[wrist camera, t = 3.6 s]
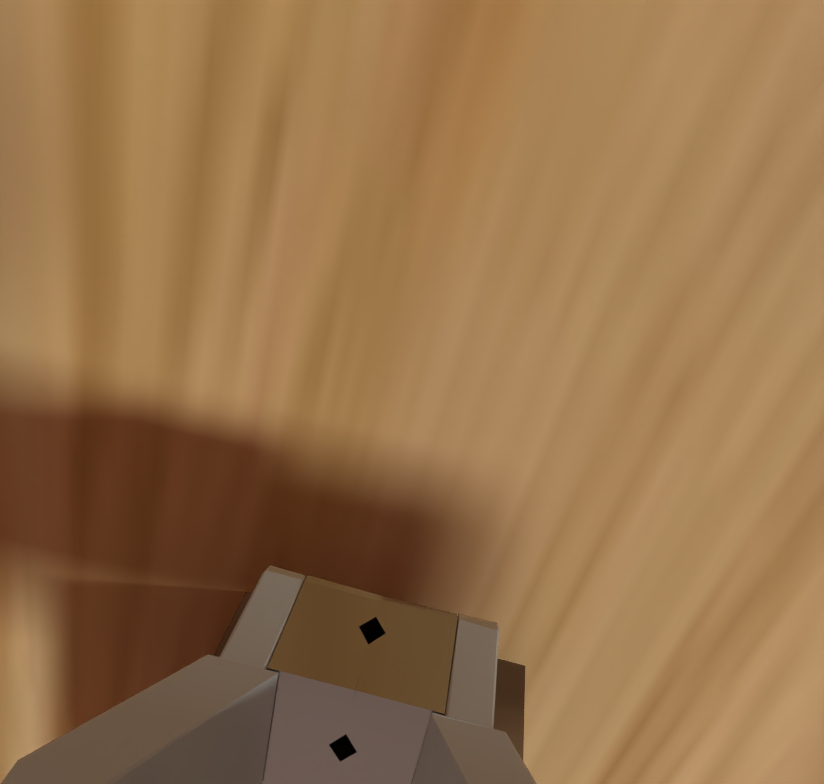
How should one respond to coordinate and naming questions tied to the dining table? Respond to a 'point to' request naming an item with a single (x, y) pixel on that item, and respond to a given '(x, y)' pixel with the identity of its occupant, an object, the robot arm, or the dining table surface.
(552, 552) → the dining table surface
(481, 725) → the robot arm
